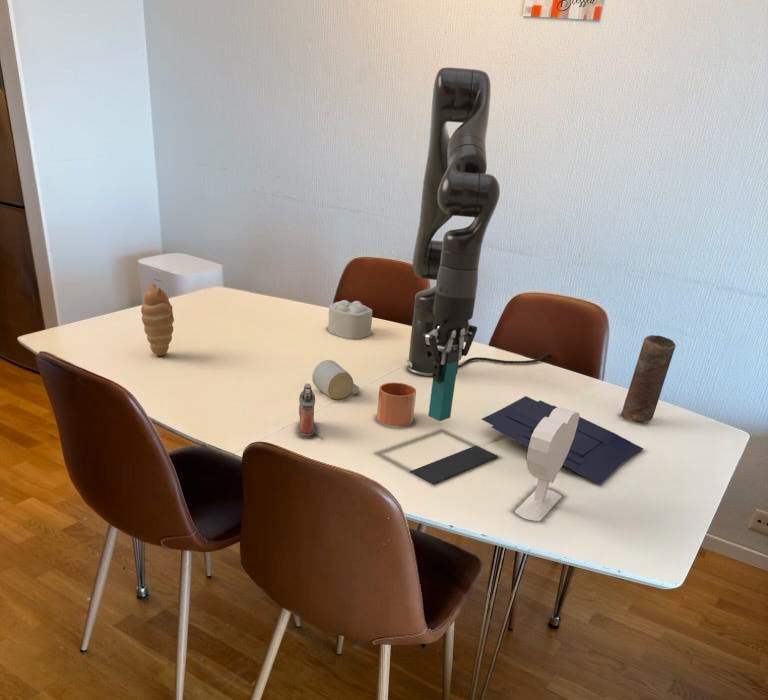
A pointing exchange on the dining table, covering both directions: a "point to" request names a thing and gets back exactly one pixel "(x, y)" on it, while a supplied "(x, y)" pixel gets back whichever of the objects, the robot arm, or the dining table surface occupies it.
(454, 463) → the mat
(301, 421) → the lighter
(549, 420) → the heart sculpture
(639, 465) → the dining table surface
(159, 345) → the ridged brown croissant
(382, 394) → the pen cup
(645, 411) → the brown hollow cylinder
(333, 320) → the lumpy-topped squat cylinder
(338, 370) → the ceramic mug
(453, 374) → the block
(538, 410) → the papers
